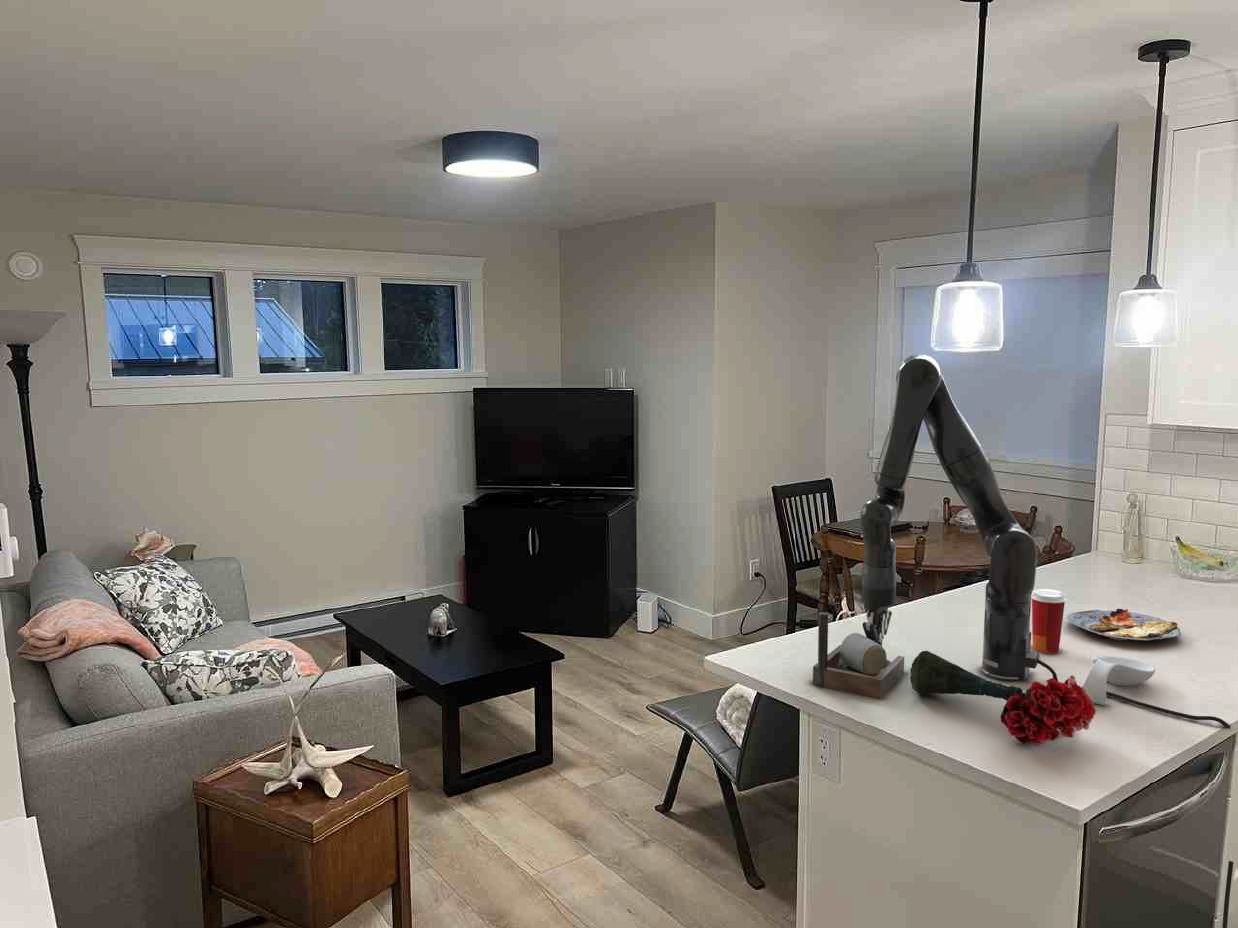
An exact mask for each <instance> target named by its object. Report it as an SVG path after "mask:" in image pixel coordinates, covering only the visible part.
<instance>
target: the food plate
mask: <svg viewBox="0 0 1238 928" xmlns="http://www.w3.org/2000/svg"><path fill="white" fill-rule="evenodd" d="M1065 619H1066V620H1067V621H1068V622H1069V623H1070V624H1071V625H1073V626H1076V627H1078V628H1080V629H1083V630H1085V631H1086V632H1091V633H1093V634H1096V635H1099V636H1102V637H1105V638H1110V639H1112V640H1116V641H1122V640H1124V641H1127V639H1128V640H1132V641H1152V640H1163V639H1169V638H1177V637H1181V635H1182V633H1181V629H1180V628H1179V627H1178V623H1177V622H1175V621H1166V620H1163V619H1161V618H1159V617H1154V616H1152V615H1148V614H1141V613H1135V612H1132V611H1129V609H1127V608H1125V609H1123V608H1116V610H1111V609H1110V610H1108V609H1107V610H1101V609H1094V610H1093V609H1092V610H1083V611H1075V612H1071V613H1069V614H1066V616H1065Z"/></svg>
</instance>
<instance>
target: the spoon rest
mask: <svg viewBox="0 0 1238 928" xmlns="http://www.w3.org/2000/svg"><path fill="white" fill-rule="evenodd" d="M1092 663H1093V665H1092V667H1091V669H1090V671H1089V673H1088V676H1086V680H1085V682H1084V684H1083V686H1085V687H1086V688H1087V691H1088V693H1089V694H1090V696H1091V698H1092V700H1093V703H1092V704H1097V705H1101V706H1106V705H1107V695H1106V691H1107V682H1109V683H1111V684H1113V685H1117V686H1122V687H1134V686H1137V685H1139V684H1142V683H1145V682H1147V681H1148V680H1149V679H1151V678H1152V677H1153V675H1154V674H1155V673H1156V667H1154V666H1153V665H1151V664H1149V663H1147V662H1144V661H1140V660H1136V659H1132V658H1127V657H1121V656H1111V655H1110V656H1109V655H1101V656H1095V657H1093V658H1092Z"/></svg>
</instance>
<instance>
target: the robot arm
mask: <svg viewBox="0 0 1238 928" xmlns="http://www.w3.org/2000/svg"><path fill="white" fill-rule="evenodd" d="M895 383H896V389H895V399H894V408H893V413H892V416H891V421H890V424H889V427H888V431H887V434H886V437H885V439H884V442H883V445H882V448H881V452H880V454H879V458H878V461H877V466H876V470H875V473H874V482H875V484H876V486H877V487H876V494H875V496H874V498H872V499H870V500H868V501H866V502H865V503H864V504H863V506H862V508H861V510H860V511H861V512H860V528H861V534H862V540H863V545H864V547H863V564H862V571H861V595H860V596H861V597H860V600H861V603H863V604H864V605H866V606H867V611H866V615H865V617H866V619H867V620H866V621H863V622H862V629H863V631H864V634H865V635H864V636H865V637H867V638H869V639H870V640H872V641H874V642H876V643H878V644H879V645H881V646H882V647H883V640H884V639H885V636H887V634H888V629H889V625H890V621H891V618H892V615H893V613H892V610H889V607H893V606H894V605H895V604H896V594H897V593H896V591H897V590H896V589H897V567H896V565H897V563H896V562H897V544H896V542H895V541H894V540H893V539H892V536H891V535H892V533H891V531H892V530H891V529H892V528H891V526H893V525H895V524H896V523H898V521H899V520H900V518H901V516H902V514H903V512H904V507H905V501H906V489H907V488H906V487H907V486H906V485H907V482H908V480H909V477H910V473H911V469H912V466H913V462H914V459H915V458H914V457H915V454H916V449H917V443H918V439H919V435H920V430H921V427H922V424H923V422H924V425H925V427H926V431H927V433H928V436H929V439H930V442H931V445H932V447H933V450H934V453H935V455H936V458H937V460H938V463H939V464H940V466H941V468H942V470H943V471H944V473H945V475H946V477H947V479H948V481H949V482H950V484H951V486H952V487H953V489H954V491H955V492H956V494H957V495H958V497H959V498H960V500H961V501H962V502H963V504H964V505H965V506H966V508H967V509H968V510H969V513H970V514H971V516H972V518H973V520H974V522H975V525H976V527H977V529H978V532H979V535H980V536H981V539H982V542H983V545H984V547H985V550H986V553H987V555H988V556H989V557H990V565H989V578H988V582H987V583H986V585H985V595H984V597H985V599H984V620H983V621H984V622H983V639H982V640H983V642H982V644H983V645H982V660H981V672H982V673H983V674H984V675H986V676H988V677H991V678H994V679H998V680H1002V681H1022V682H1025V681H1026V679H1027V678H1028V676H1029V675H1030V669H1033V670H1034V669H1036V668H1037V666H1038V664H1039V665H1040V666H1041V667H1043V668H1045V669H1046V670H1048V671H1049V672H1050V673H1051V675H1052V677H1054V679H1055V680H1056V681H1057V682H1060V681H1059V679H1058V674H1057V673H1056V671H1055V669H1053V667H1051V666H1050V665H1048V664H1047V663H1046V662H1044V661H1042V660H1040V652H1037V651H1035V650H1031V648H1032V647H1031V646H1032V631H1031V630H1030V628H1031V625H1030V624H1031V612H1032V598H1031V595H1032V592H1033V591H1034V590H1035V586H1036V585H1035V583H1036V575H1037V560H1038V549H1037V544H1036V541H1035V539H1034V538H1033V537H1032V536H1031V534H1029V533H1028V532H1027V531H1026V530H1025V529H1024V528H1023V527H1022V526H1021V525H1020V524H1019V523H1018V521H1017V519H1016V518H1015V517H1014V515H1013V513H1012V512H1011V511H1010V509H1009V508H1008V505H1007V504H1006V503H1005V500H1004V498H1003V497H1002V493H1001V490H1000V487H999V484H998V481H997V477H996V475H995V471H994V469H993V467H992V464H991V461H990V460H989V458H988V456H987V454H986V452H985V450H984V449H983V447H982V444H981V443H980V441H979V439H978V438H977V436H976V434H975V433H974V431H973V429H972V428H971V427H970V425H969V424H968V422H967V420H966V419H965V418H964V416H963V415H962V414H961V412H960V411H959V409H958V407H957V406H956V404H955V402H954V400H953V398H952V396H951V393H950V391H949V389H948V386H947V384H946V382H945V379H944V376H943V373H942V370H941V367H940V365H939V364H938V362H937V361H936V360H935V359H934V358H933V357H931V356H929V355H925V354H912V355H910V356H908V357H907V358H905V359H904V360H903V361H902V362H901V363H900V365H899V367H898V369H897V372H896V375H895ZM1106 696H1108V697H1111V698H1114V699H1118V700H1120V701H1123V702H1127V703H1130V704H1133V705H1135V706H1140V707H1143V708H1146V709H1151V710H1153V711H1156V712H1161V713H1164V714H1166V715H1171V716H1175V717H1180V718H1184V719H1189V720H1193V721H1214V722H1217V723H1219V724H1220V725H1222V726H1223V727H1225V728H1227V729H1231V728H1232V727H1231V726H1230V724H1228V723H1227V722H1226V721H1225V720H1224V719H1222V718H1220V717H1217V716H1213V715H1192V714H1188V713H1184V712H1179V711H1175V710H1171V709H1167V708H1164V707H1160V706H1157V705H1152V704H1149V703H1146V702H1142V701H1139V700H1135V699H1132V698H1129V697H1126V696H1124V695H1120V694H1117V693H1113V692H1110V691H1107V690H1106ZM1227 864H1228V865H1227V872H1226V881H1225V891H1224V901H1223V912H1222V924H1221V925H1222V926H1221V927H1222V928H1228V919H1229V909H1230V897H1231V887H1232V881H1233V880H1232V879H1233V870H1234V861H1232V860H1228V863H1227Z"/></svg>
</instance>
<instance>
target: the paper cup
mask: <svg viewBox="0 0 1238 928" xmlns="http://www.w3.org/2000/svg"><path fill="white" fill-rule="evenodd" d="M1066 602H1067V598H1066V595H1065V593H1064V592H1062V591H1060V590H1057V589H1051V588H1038V589H1033V591H1032V595H1031V624H1032V625H1031V643H1032V651H1035V652H1039V654H1045V655H1054V654H1058V653H1059V651H1060V644H1061V643H1060V642H1061V637H1062V636H1061V635H1062V630H1063V629H1062V628H1063V620H1064V611H1065V604H1066Z"/></svg>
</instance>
